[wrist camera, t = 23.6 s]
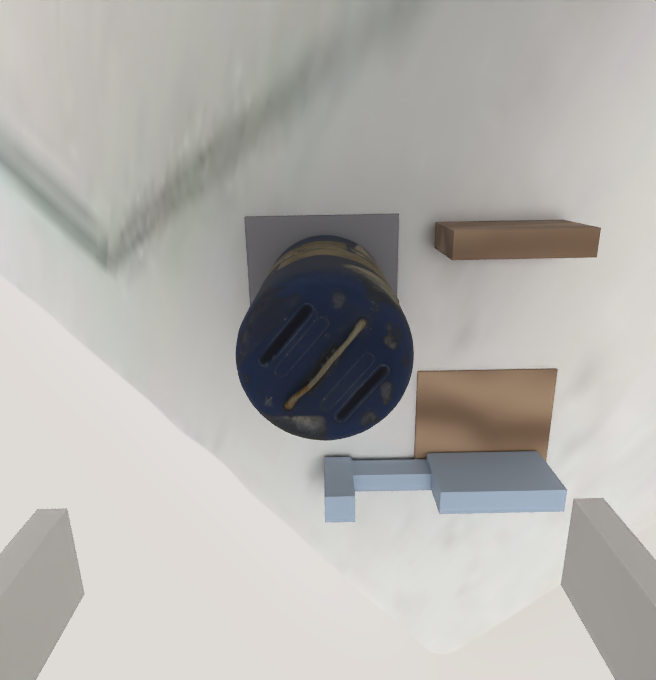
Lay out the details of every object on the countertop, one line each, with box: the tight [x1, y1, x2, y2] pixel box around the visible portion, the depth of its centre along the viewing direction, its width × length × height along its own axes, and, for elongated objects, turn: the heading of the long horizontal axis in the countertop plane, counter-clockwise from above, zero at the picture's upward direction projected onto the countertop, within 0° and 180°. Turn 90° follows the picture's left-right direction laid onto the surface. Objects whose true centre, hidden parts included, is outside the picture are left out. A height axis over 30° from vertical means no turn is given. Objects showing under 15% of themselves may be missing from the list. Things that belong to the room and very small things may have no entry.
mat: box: [245, 214, 399, 306], centre depth 43 cm, size 12×12×1 cm
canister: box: [236, 235, 414, 440], centre depth 34 cm, size 10×10×18 cm
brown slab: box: [414, 220, 601, 461], centre depth 42 cm, size 23×12×6 cm, turn 1°
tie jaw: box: [325, 451, 567, 522], centre depth 45 cm, size 3×19×6 cm, turn 91°
